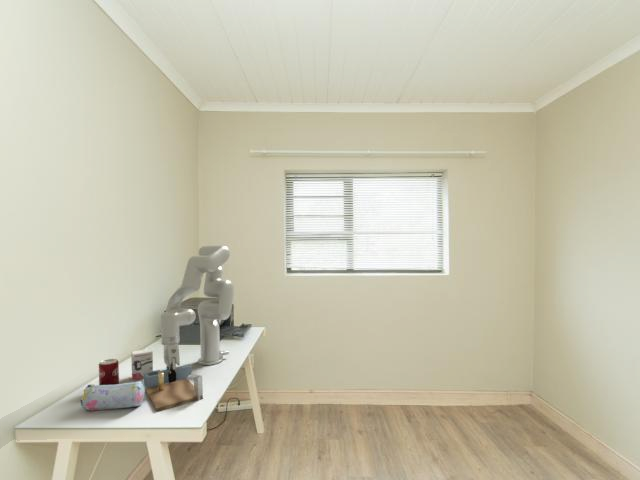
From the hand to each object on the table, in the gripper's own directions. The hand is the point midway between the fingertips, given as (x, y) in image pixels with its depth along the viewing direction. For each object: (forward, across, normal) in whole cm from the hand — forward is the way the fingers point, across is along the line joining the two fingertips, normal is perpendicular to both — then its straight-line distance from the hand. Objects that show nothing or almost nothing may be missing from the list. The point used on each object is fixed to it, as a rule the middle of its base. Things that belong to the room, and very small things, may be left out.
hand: (171, 379), depth 159 cm
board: (0, -16, +3) cm, 16 cm away
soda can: (+1, +7, +24) cm, 25 cm away
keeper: (0, -25, -3) cm, 25 cm away
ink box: (+1, +14, +10) cm, 17 cm away
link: (0, 0, +1) cm, 1 cm away
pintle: (0, -11, +6) cm, 13 cm away
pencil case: (+1, -13, +24) cm, 27 cm away
